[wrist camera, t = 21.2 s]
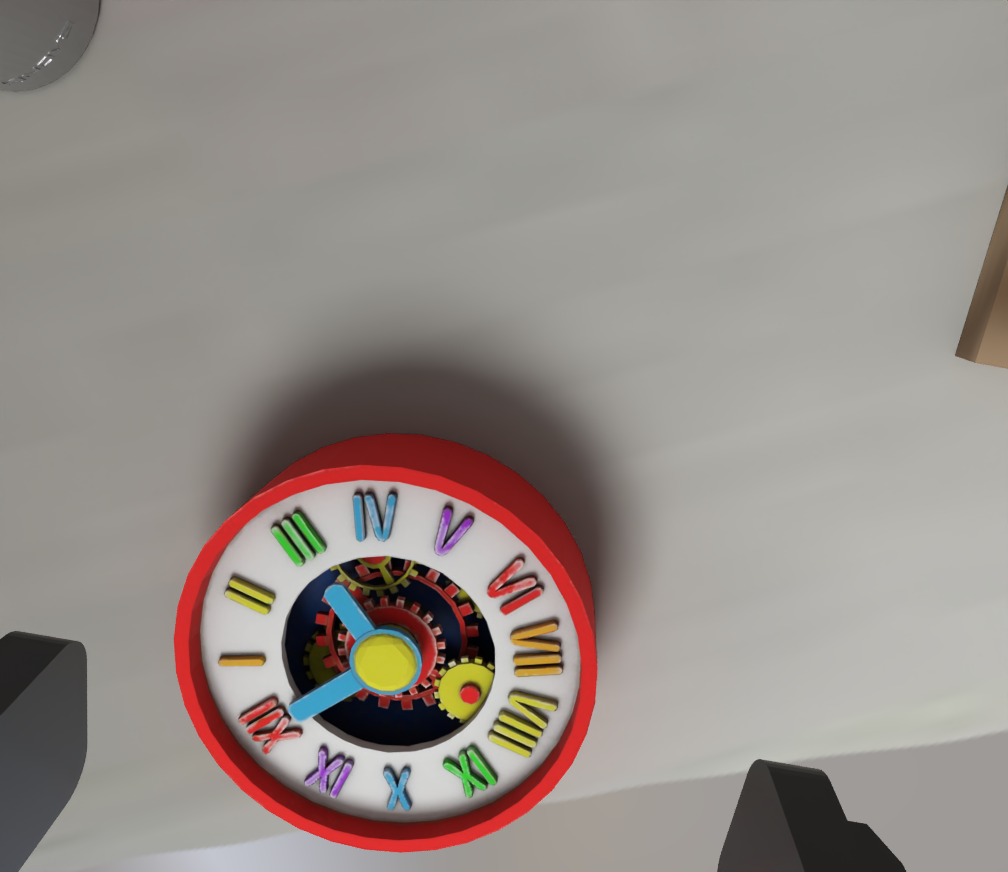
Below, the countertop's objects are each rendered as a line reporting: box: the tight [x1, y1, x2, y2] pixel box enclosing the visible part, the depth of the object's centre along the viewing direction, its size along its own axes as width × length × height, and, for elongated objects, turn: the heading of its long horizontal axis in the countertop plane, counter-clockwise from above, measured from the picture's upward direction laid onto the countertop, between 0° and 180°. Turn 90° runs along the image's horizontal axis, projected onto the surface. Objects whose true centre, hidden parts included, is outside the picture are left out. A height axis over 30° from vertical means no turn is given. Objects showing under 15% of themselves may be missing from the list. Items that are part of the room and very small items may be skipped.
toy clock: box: [174, 433, 597, 852], centre depth 42 cm, size 20×6×20 cm
